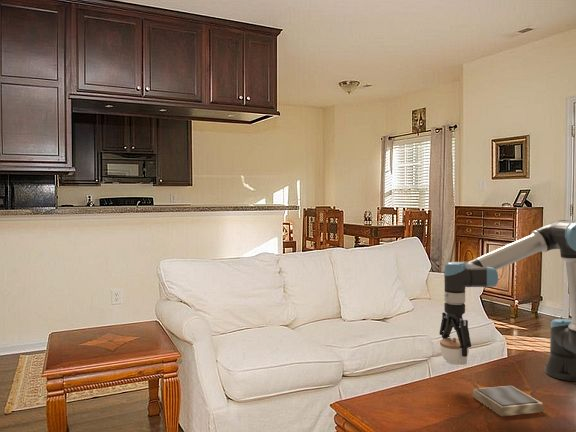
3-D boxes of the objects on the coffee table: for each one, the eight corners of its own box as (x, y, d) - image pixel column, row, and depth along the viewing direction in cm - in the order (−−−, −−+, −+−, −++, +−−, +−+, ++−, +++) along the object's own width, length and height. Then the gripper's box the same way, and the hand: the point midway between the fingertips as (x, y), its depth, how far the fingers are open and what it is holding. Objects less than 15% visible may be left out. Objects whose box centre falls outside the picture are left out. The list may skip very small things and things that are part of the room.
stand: (511, 393, 181) (511, 384, 180) (542, 412, 165) (542, 402, 165) (472, 397, 177) (473, 388, 177) (501, 416, 161) (501, 406, 161)
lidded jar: (471, 367, 180) (471, 342, 179) (441, 365, 182) (441, 341, 181) (466, 358, 190) (467, 334, 190) (438, 356, 192) (438, 333, 192)
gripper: (430, 297, 196) (430, 350, 196) (463, 310, 173) (463, 370, 174) (447, 296, 197) (447, 349, 198) (481, 308, 175) (481, 368, 175)
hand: (454, 359), depth 186 cm, fingers closed on lidded jar, 11 cm apart
